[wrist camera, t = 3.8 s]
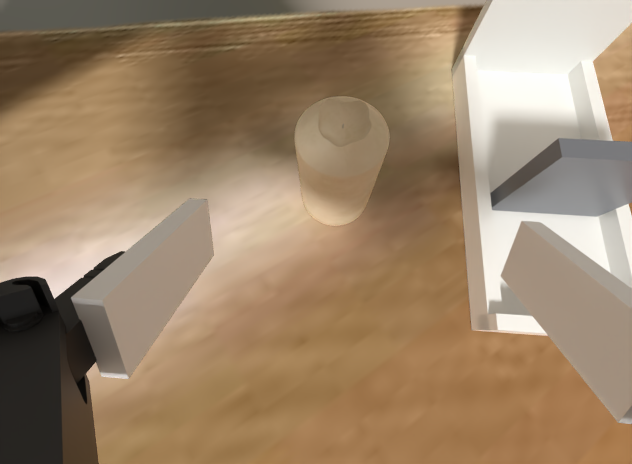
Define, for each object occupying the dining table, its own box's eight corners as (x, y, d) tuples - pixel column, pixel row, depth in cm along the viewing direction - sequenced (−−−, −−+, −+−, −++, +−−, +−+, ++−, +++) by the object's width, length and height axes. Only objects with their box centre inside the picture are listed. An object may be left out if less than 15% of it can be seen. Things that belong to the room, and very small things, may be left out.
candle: (288, 192, 26) (271, 112, 17) (338, 155, 27) (348, 60, 18) (330, 240, 25) (338, 184, 15) (381, 200, 26) (417, 123, 16)
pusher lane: (471, 330, 23) (564, 329, 14) (451, 69, 30) (504, -36, 21) (626, 341, 22) (818, 347, 14) (568, 74, 30) (670, -30, 21)
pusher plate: (488, 210, 24) (562, 157, 17) (486, 195, 24) (558, 137, 17) (596, 216, 24) (720, 165, 17) (593, 202, 24) (713, 146, 17)
